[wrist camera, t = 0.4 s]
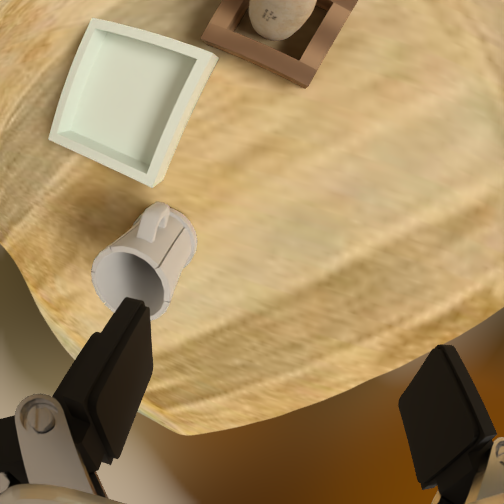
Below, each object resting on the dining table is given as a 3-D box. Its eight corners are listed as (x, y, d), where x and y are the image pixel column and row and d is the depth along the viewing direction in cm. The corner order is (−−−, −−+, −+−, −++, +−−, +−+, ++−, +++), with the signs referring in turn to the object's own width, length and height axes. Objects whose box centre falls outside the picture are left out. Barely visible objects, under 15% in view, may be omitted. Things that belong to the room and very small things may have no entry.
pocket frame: (255, -35, 24) (253, -47, 21) (351, 7, 26) (358, -2, 22) (207, 44, 29) (200, 38, 26) (305, 88, 31) (308, 86, 28)
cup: (120, 204, 38) (70, 242, 27) (181, 183, 37) (143, 217, 26) (149, 273, 42) (114, 326, 32) (209, 259, 41) (186, 316, 30)
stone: (244, 35, 28) (229, 0, 17) (267, -8, 26) (262, -56, 15) (293, 54, 29) (302, 26, 18) (315, 10, 26) (333, -32, 16)
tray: (106, 22, 28) (92, 17, 24) (219, 58, 30) (213, 53, 26) (64, 135, 34) (48, 139, 31) (163, 180, 36) (152, 187, 33)
